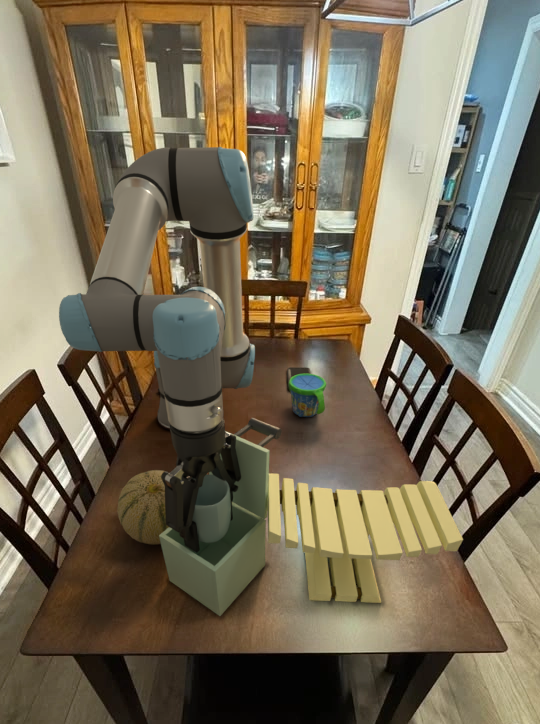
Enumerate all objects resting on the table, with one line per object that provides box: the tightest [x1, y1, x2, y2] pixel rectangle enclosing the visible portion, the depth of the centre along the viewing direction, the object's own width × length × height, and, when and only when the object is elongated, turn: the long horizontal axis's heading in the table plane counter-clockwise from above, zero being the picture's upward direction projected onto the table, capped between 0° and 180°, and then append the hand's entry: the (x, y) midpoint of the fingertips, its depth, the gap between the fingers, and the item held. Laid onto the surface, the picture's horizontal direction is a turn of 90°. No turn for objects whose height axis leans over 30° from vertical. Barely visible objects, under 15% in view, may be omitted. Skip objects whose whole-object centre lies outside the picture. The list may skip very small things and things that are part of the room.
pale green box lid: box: [208, 417, 283, 520], centre depth 74 cm, size 14×13×9 cm
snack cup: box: [288, 373, 327, 418], centre depth 122 cm, size 16×10×10 cm
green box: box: [159, 502, 267, 617], centre depth 76 cm, size 14×13×13 cm
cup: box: [192, 473, 231, 543], centre depth 68 cm, size 8×8×10 cm
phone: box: [287, 366, 311, 390], centre depth 140 cm, size 8×1×15 cm
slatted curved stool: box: [267, 472, 464, 604], centre depth 75 cm, size 30×16×18 cm, turn 90°
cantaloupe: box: [116, 469, 169, 545], centre depth 83 cm, size 15×15×15 cm
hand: (209, 531), depth 71 cm, fingers closed on cup, 8 cm apart
